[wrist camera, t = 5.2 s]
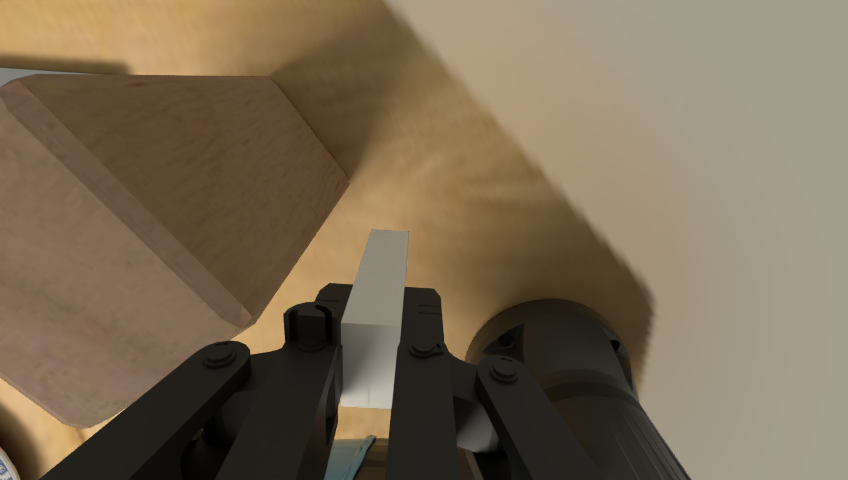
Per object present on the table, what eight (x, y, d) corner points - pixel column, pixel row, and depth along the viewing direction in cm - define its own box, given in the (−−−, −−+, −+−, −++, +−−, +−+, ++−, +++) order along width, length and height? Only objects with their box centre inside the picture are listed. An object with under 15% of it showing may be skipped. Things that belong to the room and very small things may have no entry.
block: (271, 70, 29) (-2, 56, 10) (356, 182, 32) (265, 326, 13) (174, 149, 31) (-197, 256, 12) (263, 247, 34) (74, 449, 15)
